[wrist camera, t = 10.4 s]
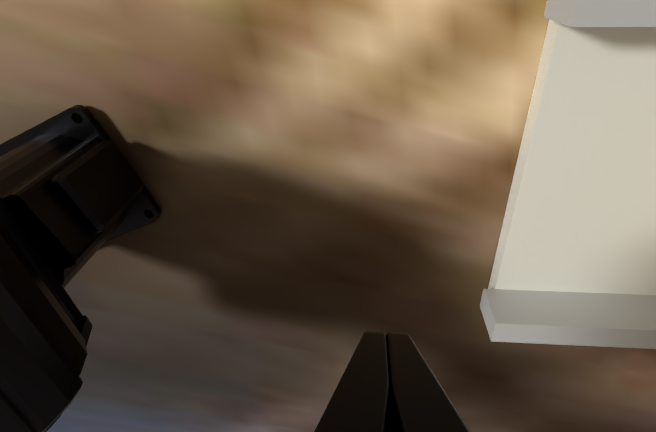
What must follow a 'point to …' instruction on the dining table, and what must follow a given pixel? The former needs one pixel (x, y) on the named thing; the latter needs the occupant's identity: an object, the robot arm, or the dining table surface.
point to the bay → (584, 187)
